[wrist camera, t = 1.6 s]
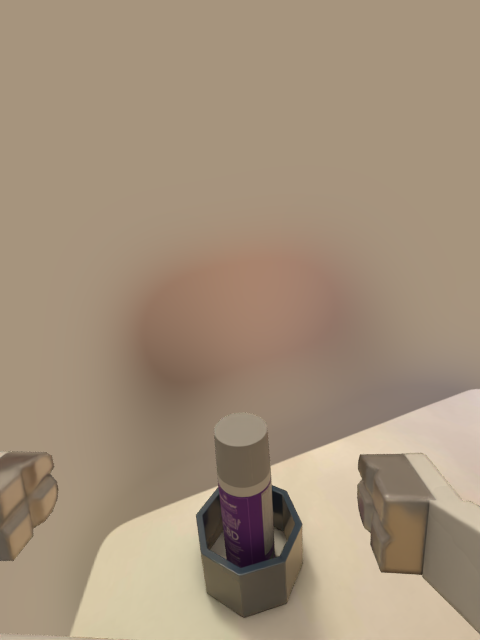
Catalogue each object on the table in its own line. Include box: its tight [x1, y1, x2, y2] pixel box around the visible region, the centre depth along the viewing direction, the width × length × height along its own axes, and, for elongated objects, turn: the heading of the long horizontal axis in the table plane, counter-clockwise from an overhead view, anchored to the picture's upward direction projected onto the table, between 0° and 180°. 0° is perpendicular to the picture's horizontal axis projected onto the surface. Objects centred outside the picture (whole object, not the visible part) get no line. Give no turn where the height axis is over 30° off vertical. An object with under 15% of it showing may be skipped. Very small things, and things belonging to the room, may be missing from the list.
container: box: [214, 413, 275, 568], centre depth 29 cm, size 5×5×15 cm
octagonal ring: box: [196, 485, 303, 617], centre depth 31 cm, size 9×9×5 cm
